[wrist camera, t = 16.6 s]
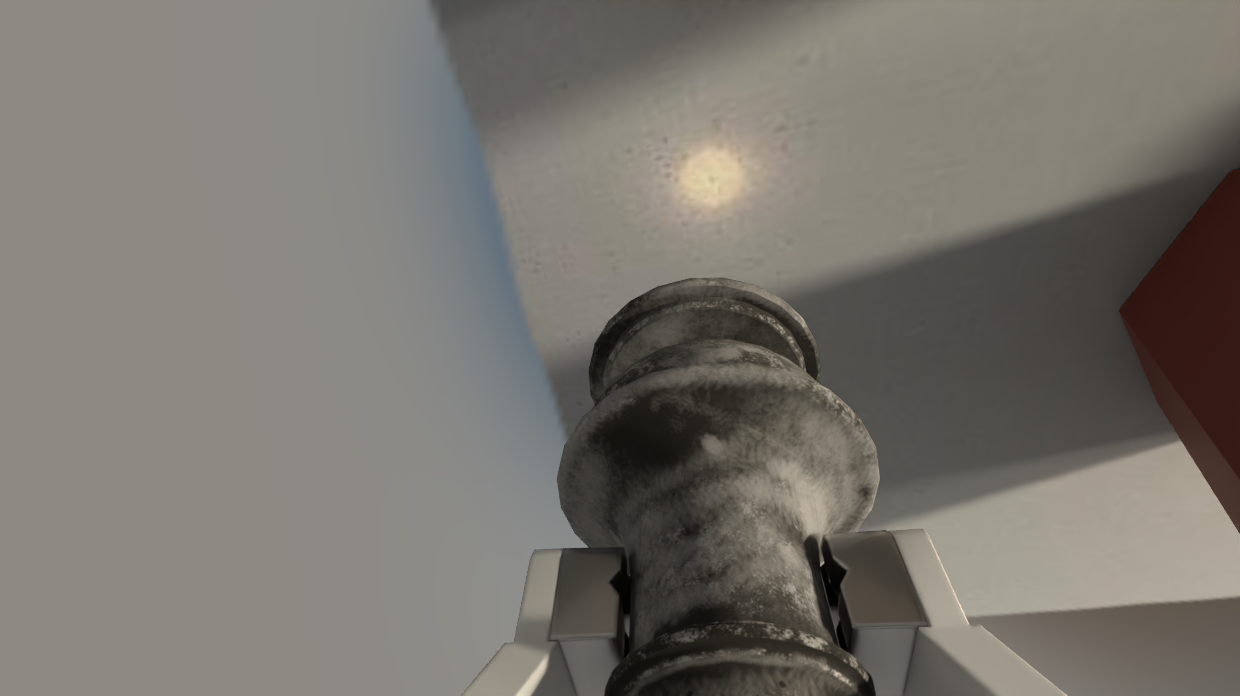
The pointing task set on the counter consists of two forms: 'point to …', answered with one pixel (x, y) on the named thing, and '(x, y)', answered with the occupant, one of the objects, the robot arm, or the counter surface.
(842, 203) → the counter surface
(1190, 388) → the bucket
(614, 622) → the robot arm
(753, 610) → the grey stone turned figure
